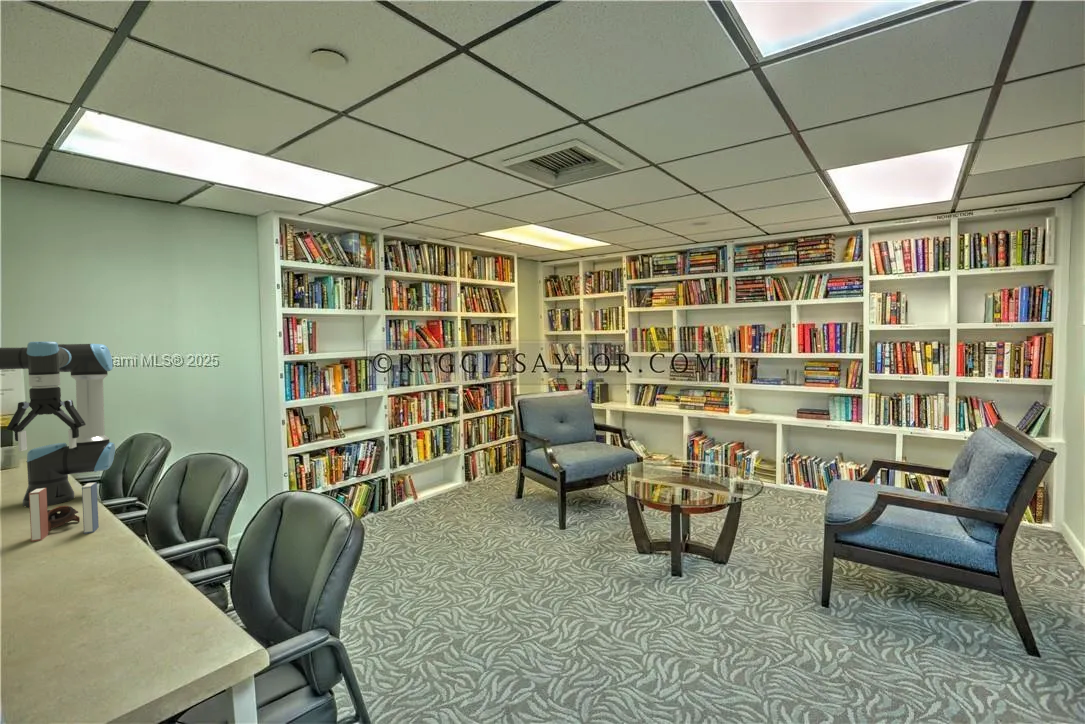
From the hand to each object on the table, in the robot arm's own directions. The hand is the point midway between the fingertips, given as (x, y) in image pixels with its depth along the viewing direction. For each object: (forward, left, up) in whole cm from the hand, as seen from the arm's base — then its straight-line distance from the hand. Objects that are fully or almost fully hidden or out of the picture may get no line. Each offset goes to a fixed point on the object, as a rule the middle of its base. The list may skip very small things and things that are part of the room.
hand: (48, 449), depth 170 cm
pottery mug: (-9, 0, -30) cm, 31 cm away
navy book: (+3, +11, -29) cm, 31 cm away
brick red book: (+3, -2, -29) cm, 29 cm away
